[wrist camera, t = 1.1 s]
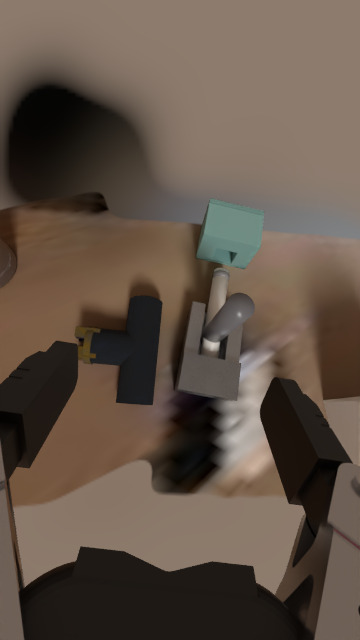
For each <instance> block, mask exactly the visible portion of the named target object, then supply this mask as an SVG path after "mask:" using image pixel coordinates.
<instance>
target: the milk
mask: <svg viewBox="0 0 360 640" xmlns="http://www.w3.org/2000/svg"><path fill="white" fill-rule="evenodd" d="M323 401H324V406H325V410H326V414H327V418H328V422H329V425H330V426H329V427H330V428H332V430H333V432H334V433H335V435H336V436H337V438H338V440H339V441H340V443H341V445H342V446H343V448H344V449H345V451H346V453H347V454H348V456H349V457H350V459H351V461H352V462H353V464H356V465H358V466H360V396H359V397H349V398H340V399H330V400H323Z"/></svg>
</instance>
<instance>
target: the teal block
mask: <svg viewBox="0 0 360 640" xmlns="http://www.w3.org/2000/svg"><path fill="white" fill-rule="evenodd" d="M263 217H264V211H261V210H257V209H253V208H248V207H244V206H240V205H236V204H232V203H228V202H223V201H219V200H215V199H210V201H209V204H208V207H207V211H206V214H205V217H204V221H203V224H202V227H201V233H200V238H199V243H198V248H197V254H196V258H198V259H202V260H206V261H211V262H215V263H220V264H224V265H228V266H233V267H237V268H241V269H245V268H246V266H247V265H248V264H249V262H250V261H251V259H252V258H253V257H254V255H255V254H256V253H257V251H258V250H259V249H260V247H261V238H262V227H263Z"/></svg>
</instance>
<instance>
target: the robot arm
mask: <svg viewBox="0 0 360 640" xmlns="http://www.w3.org/2000/svg"><path fill="white" fill-rule="evenodd" d="M16 267H17V260H16V256H15V254H14V252H13V251H12V250H11V249H10V247H9V246H8V245H7V244H6V243H5V242H4V241H3V240H2V239H1V238H0V287H2V286H4V285H5V284H6V283H7V282H8V281H9V280H10V279H11V278H12V276H13V275H14V273H15V270H16ZM77 379H78V345H77V344H74V343H68V342H62V341H55V342H54V343H53V344H52V346H51V347H50V348H49V349H48V350H47V351H46V352H41V351H39V352H37V353H35V354H33V355H31V356H29V357H27V358H26V359H25V360H24V361H23V362H22V363H21V364H20V365H19V366H18V367H17V369H16V370H14V371H13V372H12V373H11V374H10V375H9V378H6V379H5V380H4V381H3V382H2V383H1V384H0V640H360V466H358V465H356V464H353V462H352V461H351V459H350V457H349V456H348V454H347V453H346V451H345V449H344V448H343V446H342V445H341V443H340V441H339V440H338V438H337V436H336V435H335V433H334V432H333V430H332V428H330V427H329V426H330V425H329V424H328V422H327V420H326V419H325V418H324V416H323V414H322V412H321V411H320V409H319V408H318V406H317V405H316V404H315V403H314V402H313V401H312V400H311V399H310V398H309V397H308V396H307V395H306V394H303V393H302V391H301V389H300V388H299V386H298V384H297V383H296V381H294V380H291V379H284V378H278V377H275V378H273V379H272V381H271V383H270V386H269V388H268V390H267V393H266V395H265V397H264V399H263V402H262V404H261V408H260V418H261V422H262V425H263V428H264V431H265V434H266V437H267V440H268V443H269V446H270V449H271V452H272V455H273V458H274V461H275V464H276V467H277V470H278V473H279V476H280V479H281V482H282V485H283V488H284V491H285V494H286V497H287V500H288V503H289V504H295V505H302V506H303V508H304V510H305V514H304V515H303V517H302V519H301V522H300V526H299V529H298V532H297V536H296V539H295V542H294V546H293V549H292V552H291V556H290V559H289V562H288V566H287V569H286V572H285V574H284V577H283V579H282V581H281V583H280V585H279V587H278V589H277V591H276V593H275V595H274V594H273V593H271V592H270V591H269V590H267V589H266V588H264V587H263V586H261V585H260V584H258V583H256V580H255V574H254V569H253V566H247V565H238V564H228V563H220V562H208V563H204V564H200V565H197V566H192V567H188V568H184V569H180V570H176V571H171V572H168V571H164V570H161V569H160V568H158V567H155V566H153V565H151V564H149V563H147V562H145V561H143V560H141V559H139V558H137V557H135V556H133V555H131V554H128V553H126V552H124V551H115V550H107V549H98V548H89V547H80V550H79V554H78V557H77V560H76V561H75V562H71V563H67V564H64V565H62V566H59V567H56V568H54V569H52V570H50V571H48V572H47V573H45V574H43V575H41V576H40V577H38V578H37V579H35V580H34V581H32V582H31V583H30V584H28V585H27V586H26V587H25V585H24V578H23V572H22V565H21V559H20V553H19V547H18V540H17V533H16V526H15V519H14V512H13V504H12V497H11V490H10V483H9V478H10V477H11V475H12V473H13V472H14V470H15V469H16V467H23V468H30V466H31V465H32V463H33V461H34V459H35V458H36V456H37V454H38V452H39V451H40V449H41V447H42V445H43V444H44V442H45V440H46V438H47V437H48V435H49V433H50V431H51V429H52V428H53V426H54V424H55V422H56V421H57V419H58V417H59V415H60V414H61V412H62V410H63V408H64V407H65V405H66V403H67V401H68V400H69V398H70V396H71V394H72V393H73V391H74V389H75V386H76V383H77Z"/></svg>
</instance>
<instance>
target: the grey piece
mask: <svg viewBox="0 0 360 640" xmlns="http://www.w3.org/2000/svg"><path fill="white" fill-rule="evenodd" d="M229 273H230V272H229V270H227V269H225V268H216V269H215V270H214V273H213V277H212V286H211V292H210V298H209V304H208V311H207V317H206V323H205V329H204V330H203V331H202V333H201V339H202V341H203V342H202V348H201V354H200V355H203V356H208V357H213V358H217V359H218V353H219V345H220V341H221V340H222V339H223V338H225V337H226V336H227V335H228V334H230V333H231V332H232V331H233V330H235V329H236V328H237V327H238V326H240V325H241V324H242V323H243V322H245V321H246V320H247V319H248V318H250V317H251V316H252V315H253V313H254V309H255V306H254V303H253V301H252V299H251V298H250V297H249V296H248V295H246V294H243V293H235V294H233V295H231V296H230V297H229V299H228V300H227V301H226V295H227V287H228V281H229Z"/></svg>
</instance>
